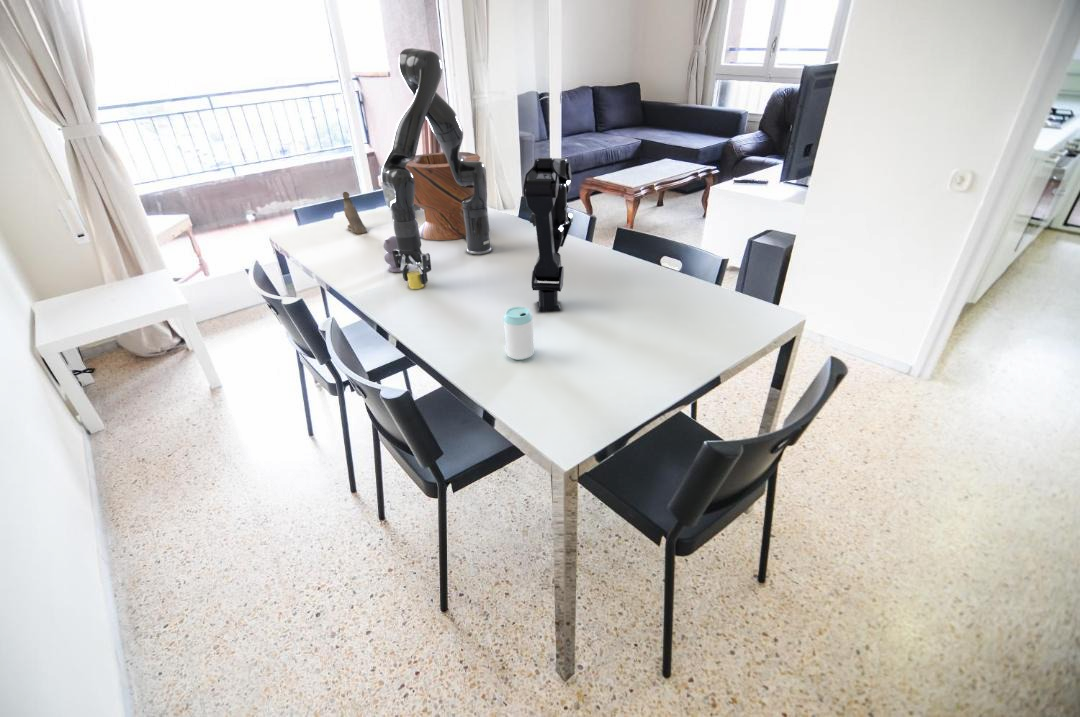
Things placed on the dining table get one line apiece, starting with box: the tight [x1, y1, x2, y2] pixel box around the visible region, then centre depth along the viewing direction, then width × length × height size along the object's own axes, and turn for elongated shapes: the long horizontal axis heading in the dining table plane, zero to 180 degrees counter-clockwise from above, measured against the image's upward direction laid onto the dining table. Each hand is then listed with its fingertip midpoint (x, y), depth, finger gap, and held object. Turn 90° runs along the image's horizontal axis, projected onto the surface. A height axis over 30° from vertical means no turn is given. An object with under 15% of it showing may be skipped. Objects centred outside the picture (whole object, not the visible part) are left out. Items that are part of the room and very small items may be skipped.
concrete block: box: [378, 165, 421, 212], centre depth 245 cm, size 27×9×20 cm, turn 39°
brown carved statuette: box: [342, 191, 368, 235], centre depth 221 cm, size 12×6×18 cm, turn 37°
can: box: [503, 306, 535, 361], centre depth 123 cm, size 7×7×12 cm
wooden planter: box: [405, 151, 481, 241], centre depth 212 cm, size 34×35×29 cm
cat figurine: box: [382, 235, 402, 273], centre depth 178 cm, size 8×8×12 cm
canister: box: [407, 270, 425, 290], centre depth 165 cm, size 5×5×5 cm
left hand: (415, 281), depth 166 cm, fingers open, 6 cm apart
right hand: (558, 251), depth 160 cm, fingers open, 9 cm apart
